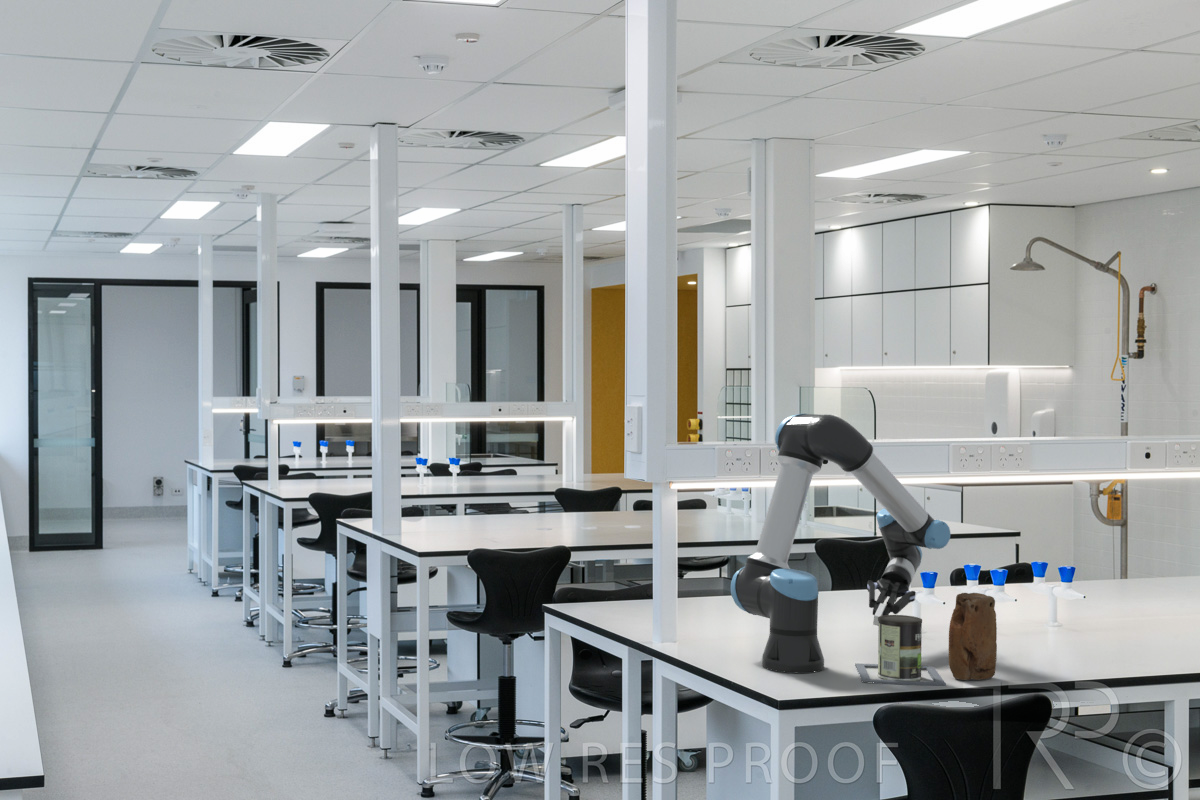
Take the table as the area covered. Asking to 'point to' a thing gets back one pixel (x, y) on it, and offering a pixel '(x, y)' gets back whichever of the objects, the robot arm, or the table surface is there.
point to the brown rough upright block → (973, 637)
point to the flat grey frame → (931, 670)
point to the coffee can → (899, 647)
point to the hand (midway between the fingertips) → (876, 620)
